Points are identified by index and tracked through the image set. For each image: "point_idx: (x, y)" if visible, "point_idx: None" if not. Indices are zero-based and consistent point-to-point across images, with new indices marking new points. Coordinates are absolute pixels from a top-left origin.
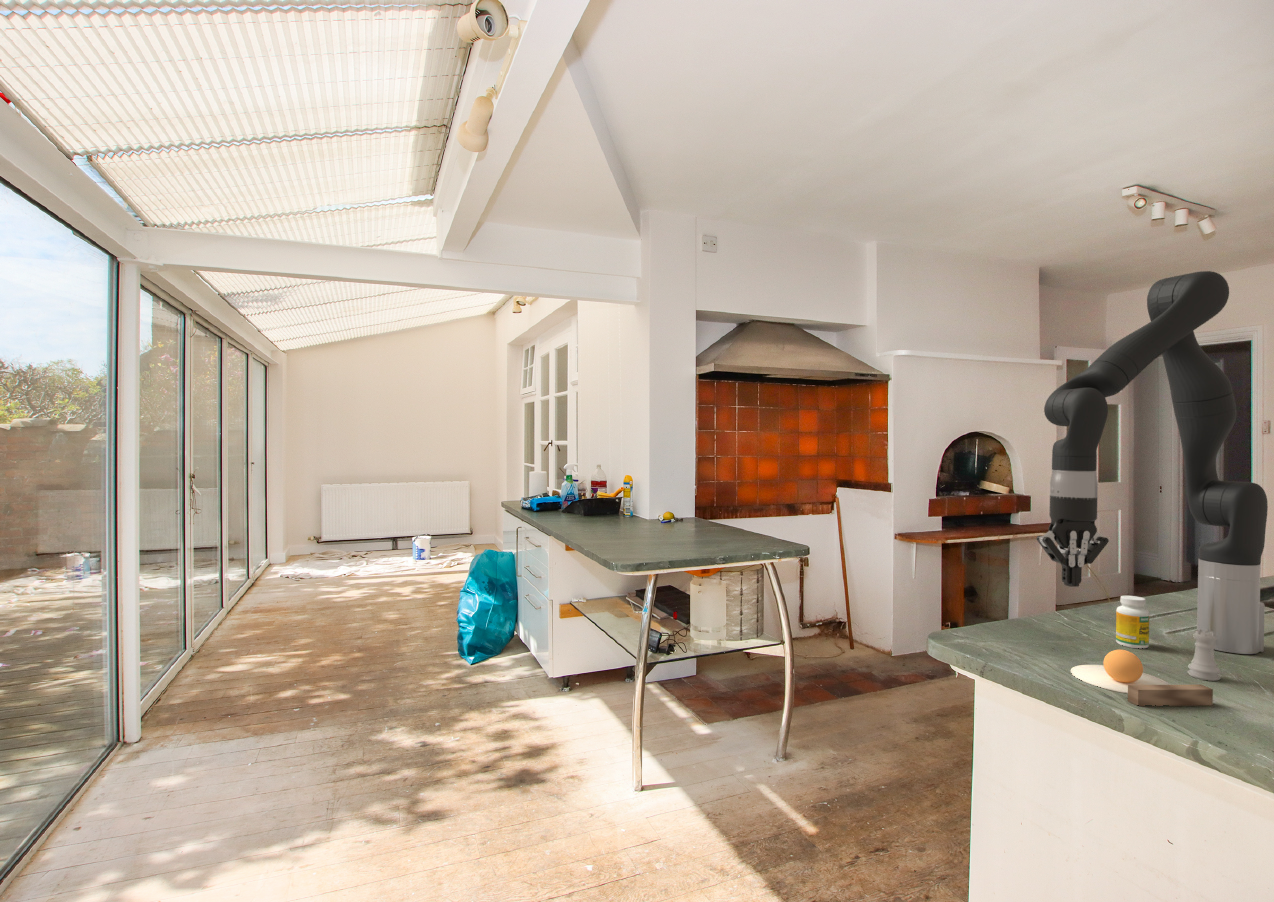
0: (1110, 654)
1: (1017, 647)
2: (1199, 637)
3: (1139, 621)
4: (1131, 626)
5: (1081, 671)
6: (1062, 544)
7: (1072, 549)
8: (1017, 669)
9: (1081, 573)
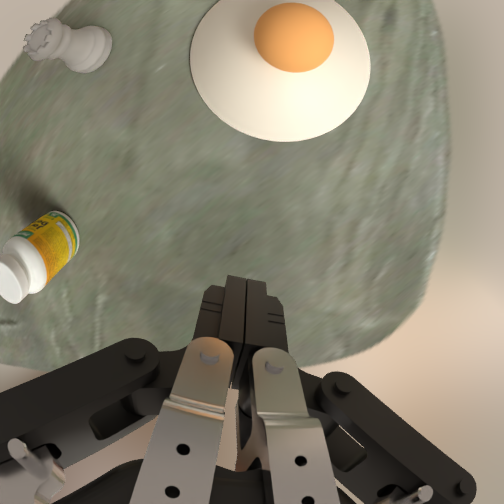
0: (325, 44)
1: (304, 273)
2: (61, 28)
3: (33, 234)
4: (49, 237)
5: (324, 110)
6: (346, 494)
7: (307, 452)
8: (423, 171)
9: (198, 316)
